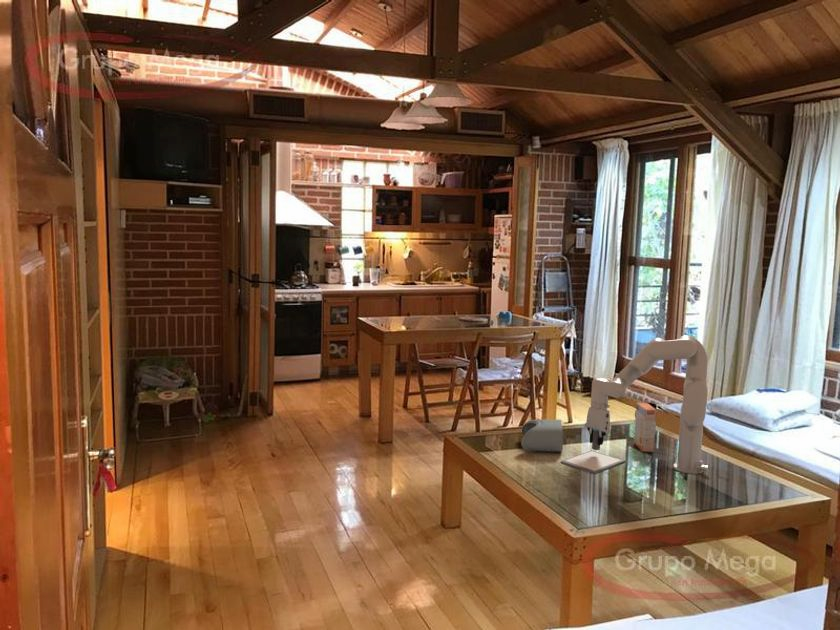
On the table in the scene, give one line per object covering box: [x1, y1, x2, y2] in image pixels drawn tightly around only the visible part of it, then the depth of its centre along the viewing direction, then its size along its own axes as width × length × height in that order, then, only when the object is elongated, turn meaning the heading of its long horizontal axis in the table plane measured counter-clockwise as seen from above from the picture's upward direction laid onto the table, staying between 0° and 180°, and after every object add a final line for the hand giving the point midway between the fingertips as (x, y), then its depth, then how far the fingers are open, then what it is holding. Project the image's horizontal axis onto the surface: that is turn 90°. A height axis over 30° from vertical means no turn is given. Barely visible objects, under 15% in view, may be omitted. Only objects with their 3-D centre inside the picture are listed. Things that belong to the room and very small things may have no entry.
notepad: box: [560, 450, 626, 475], centre depth 314 cm, size 18×24×1 cm
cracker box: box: [633, 402, 658, 453], centre depth 335 cm, size 14×6×21 cm, turn 179°
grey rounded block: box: [520, 419, 564, 452], centre depth 332 cm, size 22×19×13 cm
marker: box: [591, 429, 601, 451], centre depth 319 cm, size 4×4×12 cm
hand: (596, 443), depth 320 cm, fingers closed on marker, 3 cm apart
